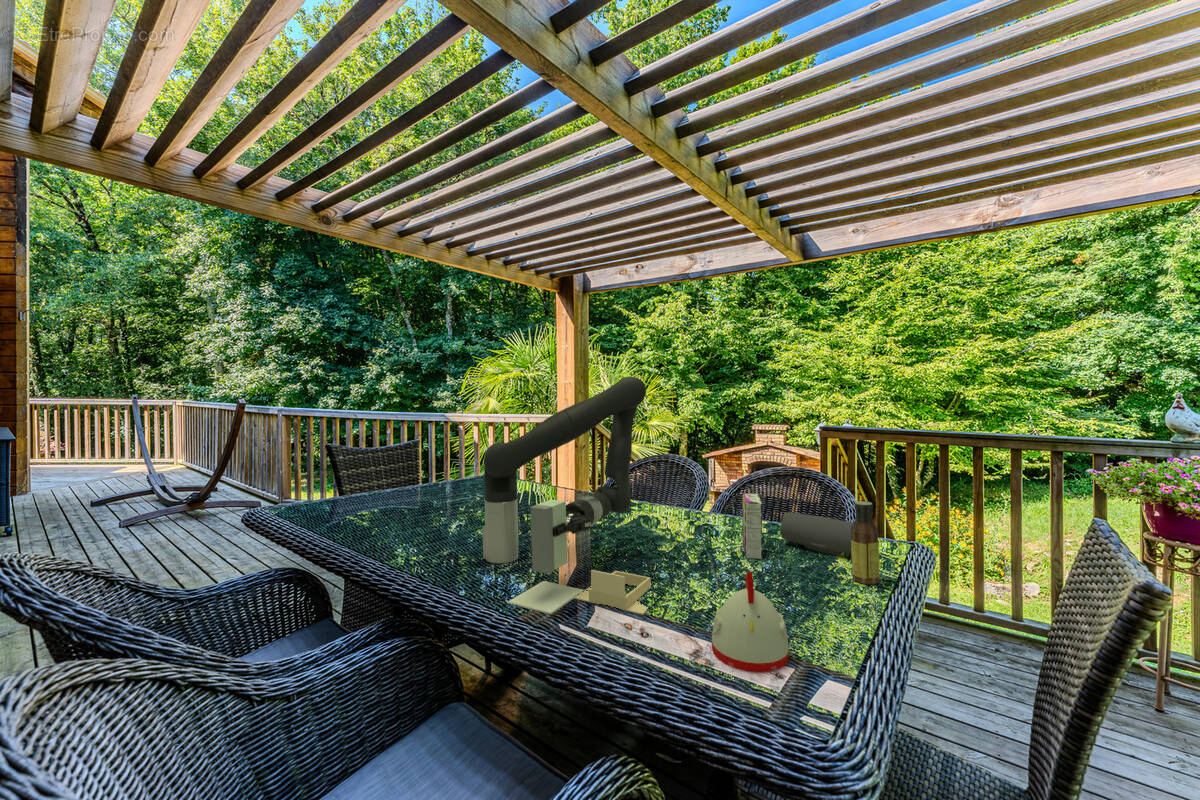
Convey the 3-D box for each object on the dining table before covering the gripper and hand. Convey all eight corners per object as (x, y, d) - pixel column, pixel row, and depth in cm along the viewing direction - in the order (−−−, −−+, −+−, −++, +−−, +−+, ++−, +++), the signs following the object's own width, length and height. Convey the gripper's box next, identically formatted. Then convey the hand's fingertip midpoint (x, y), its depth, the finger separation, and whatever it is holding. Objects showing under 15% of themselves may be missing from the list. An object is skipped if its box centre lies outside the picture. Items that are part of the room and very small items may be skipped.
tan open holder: (574, 598, 124) (573, 567, 123) (608, 574, 138) (608, 546, 138) (642, 614, 115) (642, 580, 115) (671, 587, 130) (671, 557, 129)
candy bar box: (741, 546, 160) (741, 493, 160) (759, 547, 159) (759, 493, 159) (744, 559, 149) (744, 501, 149) (762, 560, 148) (762, 502, 148)
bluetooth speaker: (869, 555, 152) (870, 520, 151) (859, 564, 145) (859, 528, 144) (792, 539, 167) (792, 508, 167) (779, 546, 160) (779, 513, 160)
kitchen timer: (711, 668, 94) (711, 585, 93) (711, 631, 107) (711, 558, 107) (794, 676, 91) (794, 591, 90) (783, 637, 105) (783, 563, 104)
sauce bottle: (877, 577, 134) (878, 500, 134) (881, 587, 129) (882, 506, 128) (849, 574, 137) (849, 499, 136) (852, 583, 131) (852, 504, 130)
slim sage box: (532, 570, 123) (530, 507, 122) (552, 559, 130) (550, 499, 129) (548, 573, 121) (546, 509, 120) (567, 562, 128) (565, 501, 127)
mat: (507, 603, 122) (507, 601, 122) (543, 582, 134) (543, 580, 134) (550, 614, 116) (550, 612, 116) (583, 591, 128) (583, 589, 128)
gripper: (559, 496, 142) (520, 512, 127) (606, 501, 135) (570, 518, 120) (560, 524, 142) (521, 542, 127) (607, 530, 135) (571, 551, 120)
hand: (545, 531), depth 123 cm, fingers closed on slim sage box, 4 cm apart
